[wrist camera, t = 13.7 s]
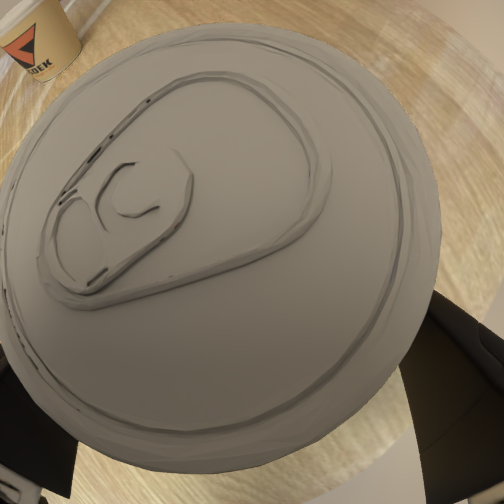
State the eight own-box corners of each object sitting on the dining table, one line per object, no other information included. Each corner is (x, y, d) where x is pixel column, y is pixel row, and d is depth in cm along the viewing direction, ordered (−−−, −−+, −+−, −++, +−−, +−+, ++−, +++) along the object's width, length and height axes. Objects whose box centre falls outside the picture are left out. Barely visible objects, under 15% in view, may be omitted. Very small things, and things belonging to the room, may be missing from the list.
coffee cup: (23, 92, 25) (-22, 45, 14) (56, 46, 27) (21, -1, 15) (63, 81, 24) (13, 20, 13) (99, 33, 26) (64, -26, 14)
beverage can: (317, 265, 17) (459, 75, 2) (284, 355, 16) (327, 549, 2) (229, 235, 18) (107, 17, 3) (196, 321, 17) (-49, 322, 2)
